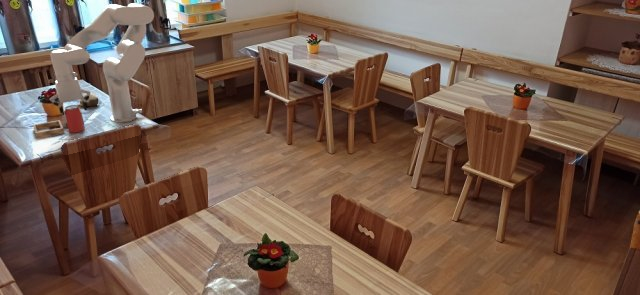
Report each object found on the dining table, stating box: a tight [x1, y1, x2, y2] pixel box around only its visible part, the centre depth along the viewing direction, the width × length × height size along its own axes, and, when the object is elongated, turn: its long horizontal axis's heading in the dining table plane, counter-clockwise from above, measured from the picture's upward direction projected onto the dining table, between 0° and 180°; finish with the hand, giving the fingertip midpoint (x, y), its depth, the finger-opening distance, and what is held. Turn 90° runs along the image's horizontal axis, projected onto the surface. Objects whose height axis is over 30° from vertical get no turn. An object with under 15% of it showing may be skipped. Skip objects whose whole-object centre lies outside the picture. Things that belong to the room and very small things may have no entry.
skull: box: [77, 92, 99, 110], centre depth 262 cm, size 12×10×10 cm
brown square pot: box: [63, 108, 85, 126], centre depth 238 cm, size 7×7×7 cm
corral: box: [32, 119, 65, 139], centre depth 230 cm, size 12×12×3 cm
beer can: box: [64, 104, 85, 133], centre depth 228 cm, size 7×7×12 cm
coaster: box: [64, 125, 89, 137], centre depth 231 cm, size 9×9×1 cm
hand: (74, 111), depth 228 cm, fingers open, 9 cm apart
